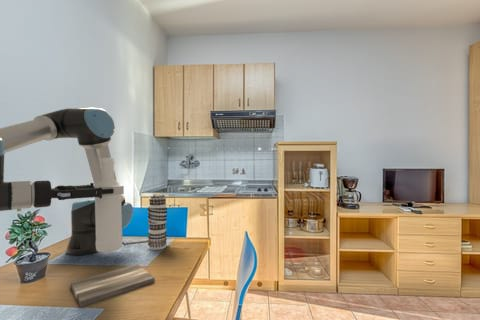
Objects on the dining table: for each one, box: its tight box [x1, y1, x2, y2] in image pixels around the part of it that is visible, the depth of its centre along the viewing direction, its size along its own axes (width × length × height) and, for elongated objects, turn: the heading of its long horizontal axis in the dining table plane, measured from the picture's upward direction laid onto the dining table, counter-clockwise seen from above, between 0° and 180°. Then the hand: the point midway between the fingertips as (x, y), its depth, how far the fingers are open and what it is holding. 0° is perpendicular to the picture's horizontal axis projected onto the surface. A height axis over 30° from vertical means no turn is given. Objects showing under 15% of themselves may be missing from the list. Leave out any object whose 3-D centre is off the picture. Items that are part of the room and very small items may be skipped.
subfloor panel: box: [69, 263, 155, 308], centre depth 86 cm, size 15×22×2 cm
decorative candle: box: [146, 193, 168, 251], centre depth 122 cm, size 9×9×25 cm
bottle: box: [94, 157, 123, 253], centre depth 84 cm, size 8×8×30 cm
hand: (119, 188), depth 87 cm, fingers closed on bottle, 8 cm apart
